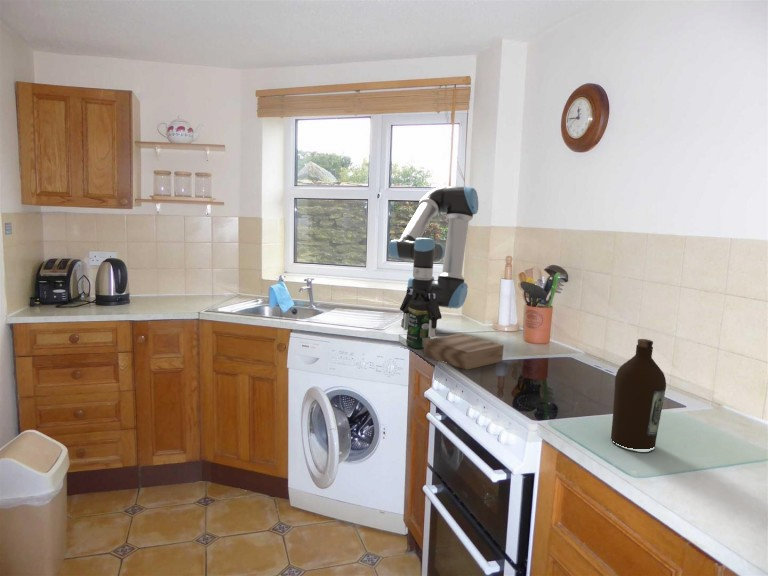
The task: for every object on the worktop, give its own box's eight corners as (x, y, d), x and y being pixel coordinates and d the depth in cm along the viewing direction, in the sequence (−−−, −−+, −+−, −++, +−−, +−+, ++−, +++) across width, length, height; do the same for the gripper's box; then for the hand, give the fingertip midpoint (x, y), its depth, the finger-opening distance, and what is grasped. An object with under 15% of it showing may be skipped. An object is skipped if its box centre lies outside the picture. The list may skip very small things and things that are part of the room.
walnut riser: (423, 355, 193) (424, 339, 192) (459, 348, 206) (460, 333, 205) (466, 369, 178) (467, 352, 177) (502, 361, 191) (503, 345, 190)
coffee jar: (402, 344, 208) (405, 297, 206) (419, 342, 212) (422, 296, 209) (415, 350, 200) (418, 301, 197) (433, 348, 204) (436, 301, 201)
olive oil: (601, 443, 124) (613, 339, 120) (616, 431, 132) (627, 332, 128) (650, 459, 117) (665, 348, 113) (662, 444, 125) (676, 341, 121)
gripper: (393, 274, 209) (390, 327, 212) (439, 283, 191) (435, 340, 193) (406, 274, 214) (403, 325, 217) (453, 282, 196) (449, 338, 198)
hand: (418, 333), depth 205 cm, fingers open, 13 cm apart
